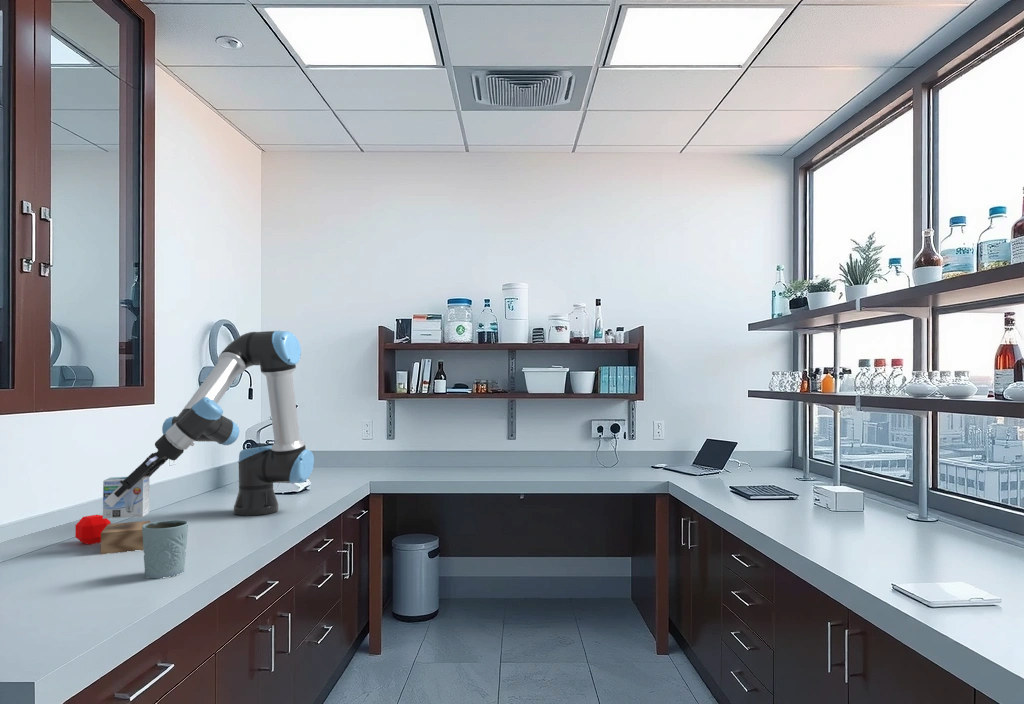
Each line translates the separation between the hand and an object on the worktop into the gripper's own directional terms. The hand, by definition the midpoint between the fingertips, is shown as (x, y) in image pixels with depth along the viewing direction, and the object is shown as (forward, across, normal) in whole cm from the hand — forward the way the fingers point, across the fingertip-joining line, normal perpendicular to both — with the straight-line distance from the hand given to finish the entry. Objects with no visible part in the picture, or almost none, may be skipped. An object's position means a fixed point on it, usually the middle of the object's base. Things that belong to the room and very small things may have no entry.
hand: (113, 501), depth 203 cm
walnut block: (+7, 0, -12) cm, 14 cm away
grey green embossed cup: (-7, -35, -26) cm, 44 cm away
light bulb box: (+1, 0, -6) cm, 6 cm away
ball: (+15, +9, -3) cm, 18 cm away
